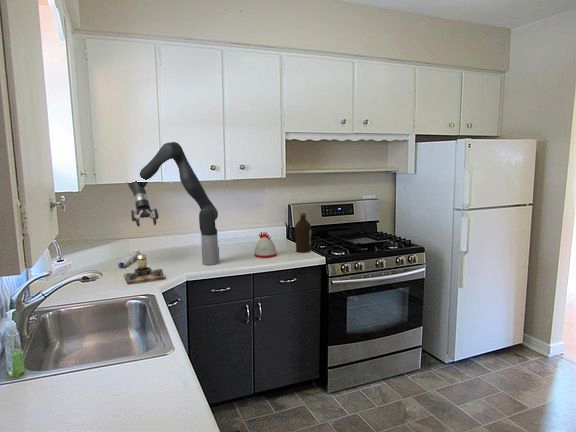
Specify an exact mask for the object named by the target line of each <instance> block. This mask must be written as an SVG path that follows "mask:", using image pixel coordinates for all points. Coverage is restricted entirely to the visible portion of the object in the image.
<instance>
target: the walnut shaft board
mask: <svg viewBox="0 0 576 432" xmlns="http://www.w3.org/2000/svg"><path fill="white" fill-rule="evenodd" d="M155 270H156V269H151V271H155ZM123 278H124V280H125V282H126V284H127V286H128V285H135V284H143V283H149V282H156V281H164V280H166V276H165V275H164V274H163V275H162V276H155V275H146V276H139V277H136V279H134V280H127V273H123Z"/></svg>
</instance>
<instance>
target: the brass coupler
mask: <svg viewBox="0 0 576 432" xmlns="http://www.w3.org/2000/svg"><path fill="white" fill-rule="evenodd" d="M136 262H137V268H138V271H144V270H147V267H148V263H147V254H145V253H141V254H139V255H137V260H136Z"/></svg>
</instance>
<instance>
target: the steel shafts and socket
mask: <svg viewBox="0 0 576 432" xmlns="http://www.w3.org/2000/svg"><path fill="white" fill-rule="evenodd" d="M151 270H152V268H151V267H149V266H147V270H144V271H138V267H137V268H134V270H133V271H134V272H128V273H126V274H127V280H134V279H136V277H139V276H146V275H155V276H162V275H164V271H163V269H162V268H158V269H157V268H156V269H154V270H155V271H151Z"/></svg>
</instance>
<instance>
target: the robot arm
mask: <svg viewBox="0 0 576 432" xmlns="http://www.w3.org/2000/svg"><path fill="white" fill-rule="evenodd" d="M169 160H173V161H174V162H175V164H176V166H177V168H178V173H179V178H180V179H179V180H180V182H181V185H182V186H183V188H184V189H185V192H187V194H188V195H189V196H190V197H191V198H192V199H193V200H194V201H195V202H196V204H197V205H198V207H199V209H200V211H199V212H198V213H199V214H198V221H199V231H200V238H201V259H202V260H201V261H202V265H204V266H213V265H218V264H220V263H221V262H220V261H221V260H220V247H219V243H218V242H219V241H218V229H217V226H216V220H217V219H218V217H219V213H218V210H217V208H216V206H215V205H214V204H213V202H212V201H211V200H210V199H209V197H208V194H207V192H206V191H205V189H204V187H203V186H202V184H201V182H200V180H199V177H197V174H196V173H195V171H194V170H193V168H192V166H191V165H190V163H189V161H188V159H187V156H186V155H185V152H184V149H183V147H182V146H181V145H180V144H179V143H178V142H176V141H172V142H166V143H164V144H162V146H161V147H160V148H159V150H158V151H157V153H156V154H155V155H154V157H152V159H151V160H150V161H149V162H147V164H146V165H144V166H143V168H141V169H140V171H141V172H140V171H139V172H140V174H139V177H141V178H143V179H145V180H147V179H149V178H150V179H151V178H153V176H155V175H156V174H157V173H158V171H159V170H160V167H162V165H163V164H164V163H166V162H167V161H169ZM150 179H149V180H150ZM148 183H149V181H148V182H137V181H135V182H132V183H128V182H127V185H128V188H129V189H130V191H131V192H132V194H133V198H134V205H135V209H136V210H130V216H131V221H132V222H135V224H136V226H137V227H139V228H140V225H141V223H140V219H143V218H149V219H152V222H153V226H156V225H157V220H159V212H158V209H157V208H154V209H152V208H151V206H150V201H149V198H148V195H147V192H146V189H145V188H146V186H147V184H148ZM135 215H137V216H136V217H135Z"/></svg>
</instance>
